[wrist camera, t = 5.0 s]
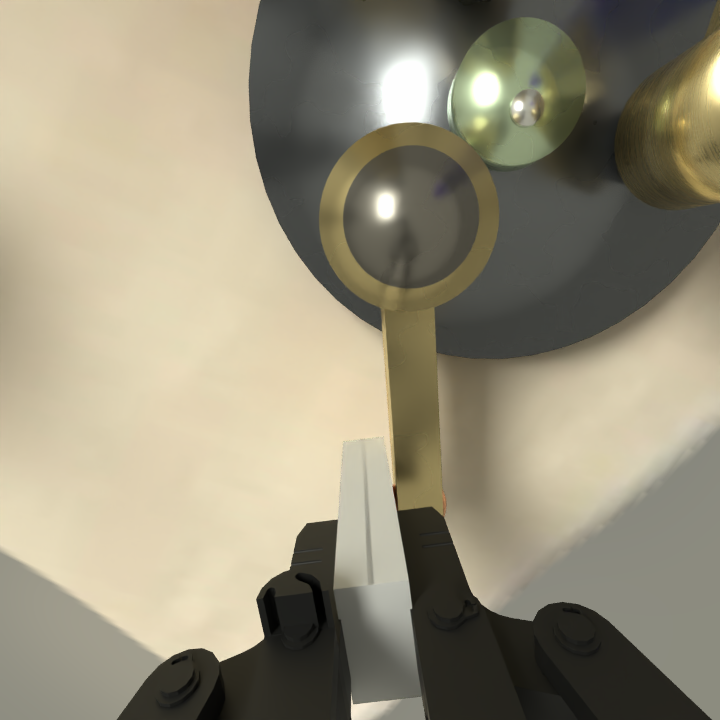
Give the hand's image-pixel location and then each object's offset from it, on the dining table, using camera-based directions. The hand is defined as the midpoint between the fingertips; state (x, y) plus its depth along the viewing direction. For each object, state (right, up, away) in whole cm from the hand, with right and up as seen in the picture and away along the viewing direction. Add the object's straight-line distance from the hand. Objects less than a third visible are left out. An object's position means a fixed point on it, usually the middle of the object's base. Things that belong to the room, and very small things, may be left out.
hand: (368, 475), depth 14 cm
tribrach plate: (+5, +13, +1) cm, 14 cm away
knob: (+1, +4, 0) cm, 5 cm away
